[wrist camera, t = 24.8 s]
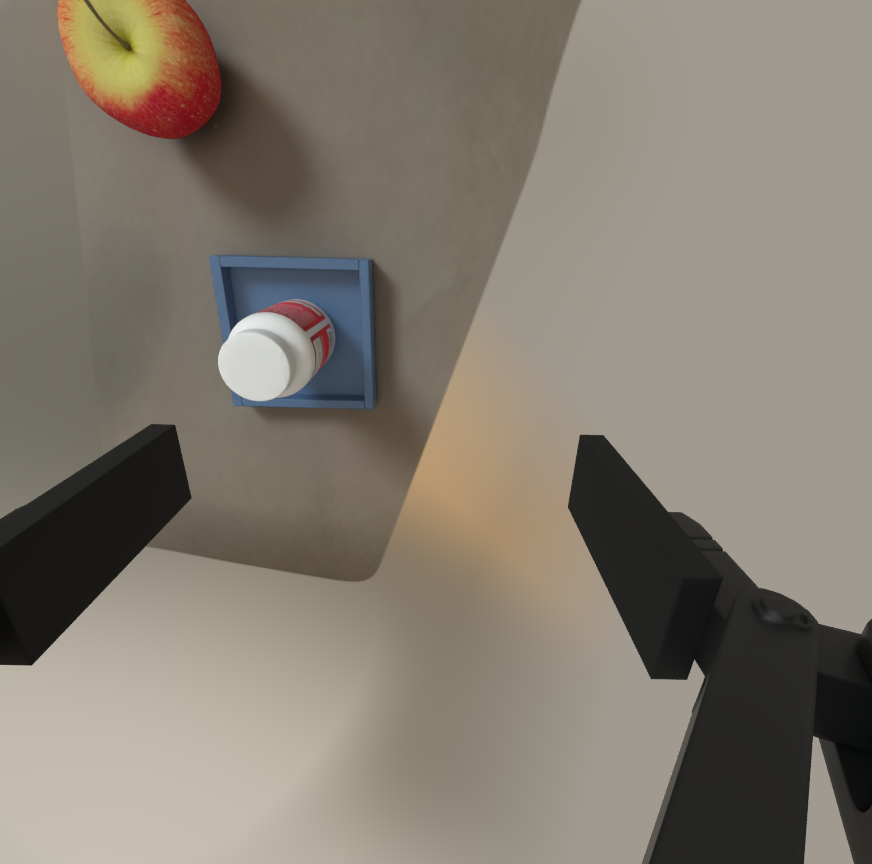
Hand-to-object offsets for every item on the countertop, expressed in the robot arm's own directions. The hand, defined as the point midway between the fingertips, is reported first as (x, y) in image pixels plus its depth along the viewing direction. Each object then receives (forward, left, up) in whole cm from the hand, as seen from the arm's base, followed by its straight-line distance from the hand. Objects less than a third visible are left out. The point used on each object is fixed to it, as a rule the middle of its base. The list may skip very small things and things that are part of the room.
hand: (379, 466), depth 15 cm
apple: (+17, -17, -27) cm, 36 cm away
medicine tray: (+10, +1, -27) cm, 29 cm away
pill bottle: (+10, +1, -26) cm, 28 cm away
